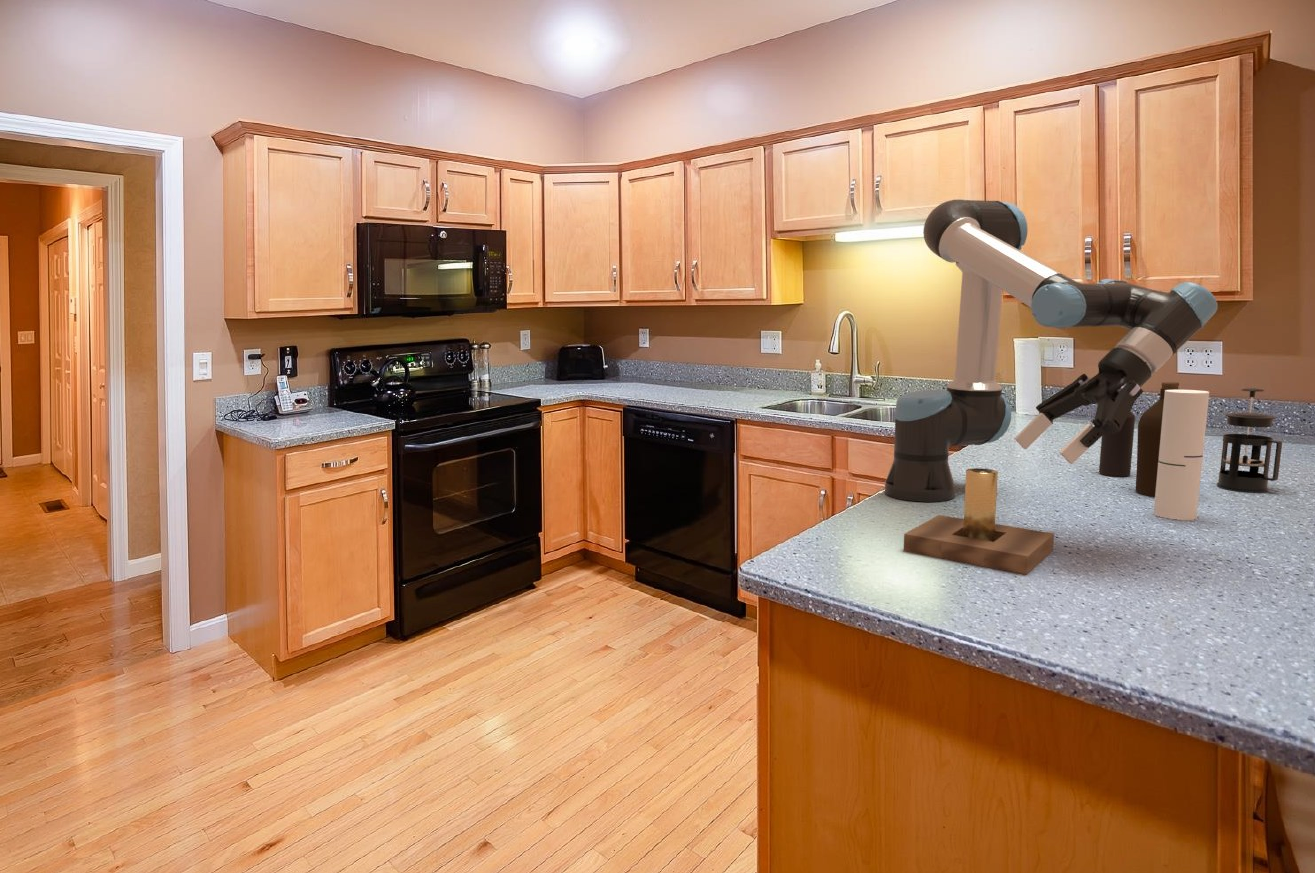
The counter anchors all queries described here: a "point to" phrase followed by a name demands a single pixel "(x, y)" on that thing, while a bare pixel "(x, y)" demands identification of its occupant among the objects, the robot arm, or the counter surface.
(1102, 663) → the counter surface
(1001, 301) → the robot arm
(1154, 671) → the counter surface
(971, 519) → the brass bushing
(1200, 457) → the cylindrical container
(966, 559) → the walnut jig plate
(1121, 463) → the bottle
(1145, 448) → the olive oil
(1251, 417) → the french press
